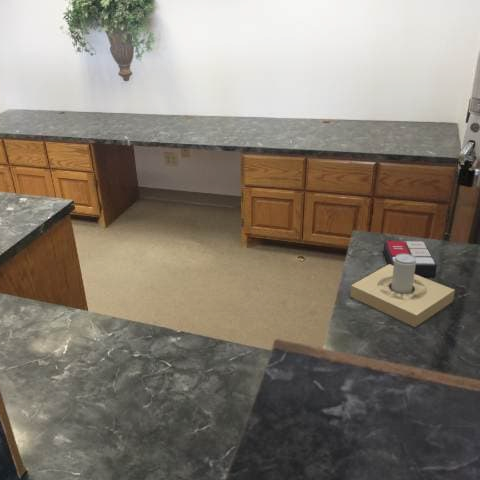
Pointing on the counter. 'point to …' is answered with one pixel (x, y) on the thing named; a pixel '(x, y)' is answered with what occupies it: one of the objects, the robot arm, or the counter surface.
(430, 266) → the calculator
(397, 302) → the socket pad
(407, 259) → the beverage can
